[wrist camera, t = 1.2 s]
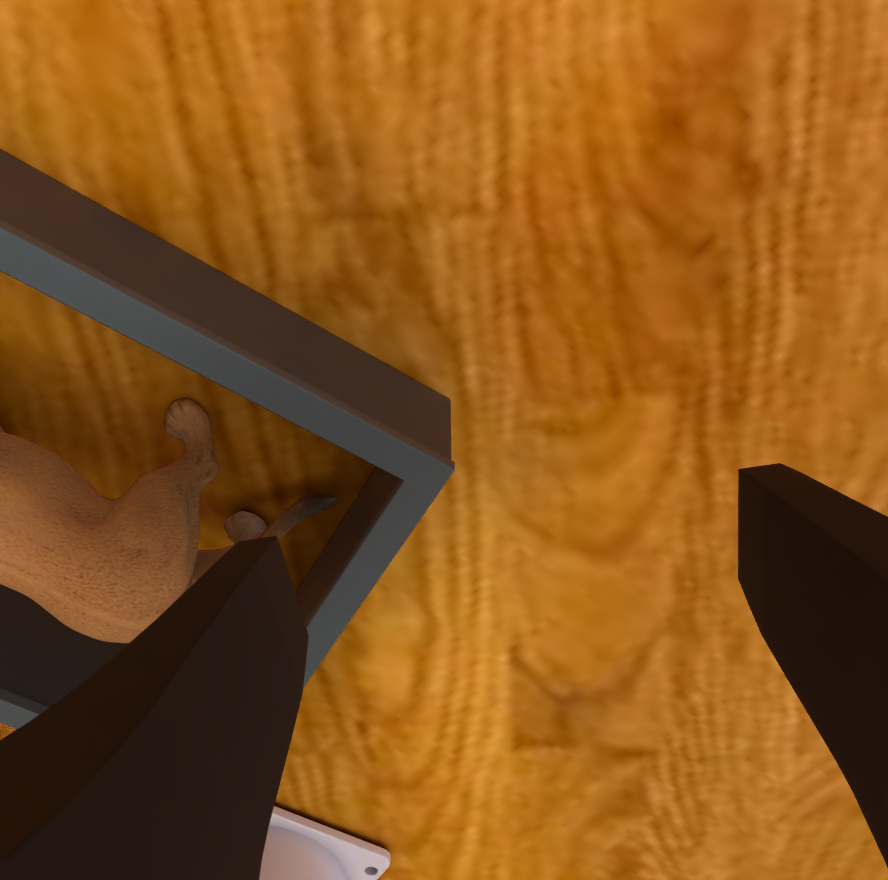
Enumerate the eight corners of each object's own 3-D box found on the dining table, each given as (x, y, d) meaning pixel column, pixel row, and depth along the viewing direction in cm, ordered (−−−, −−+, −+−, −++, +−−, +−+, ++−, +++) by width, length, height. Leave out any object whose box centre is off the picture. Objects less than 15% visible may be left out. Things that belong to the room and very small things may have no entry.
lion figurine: (-164, 457, 22) (-507, 677, 14) (-186, 285, 20) (-609, 433, 12) (324, 557, 24) (263, 807, 16) (357, 408, 22) (303, 612, 14)
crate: (252, 703, 27) (220, 807, 23) (-286, 477, 23) (-431, 559, 19) (453, 398, 22) (455, 469, 18) (-200, 34, 17) (-377, 27, 14)
